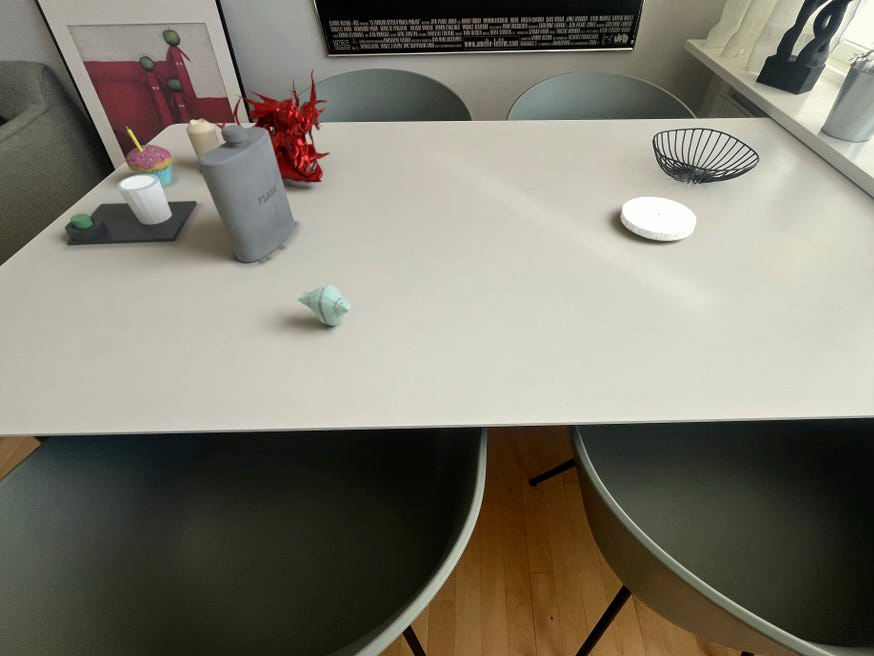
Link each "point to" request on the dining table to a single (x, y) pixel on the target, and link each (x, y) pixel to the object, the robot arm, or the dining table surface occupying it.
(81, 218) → the tare button
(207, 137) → the candle
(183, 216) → the scale
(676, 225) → the plastic lid
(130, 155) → the cupcake
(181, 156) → the dining table surface
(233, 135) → the flask
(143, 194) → the shot glass
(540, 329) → the dining table surface
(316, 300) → the mint green pointed part
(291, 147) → the sculptural form
